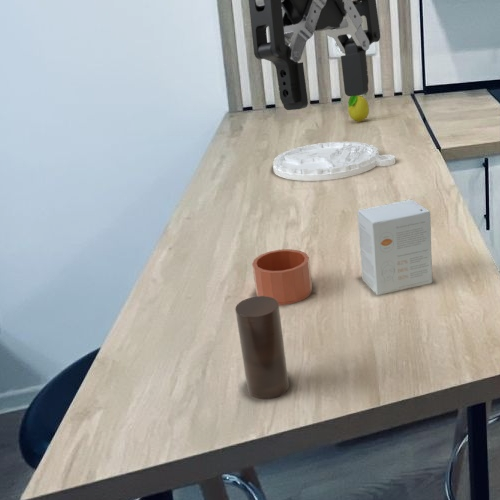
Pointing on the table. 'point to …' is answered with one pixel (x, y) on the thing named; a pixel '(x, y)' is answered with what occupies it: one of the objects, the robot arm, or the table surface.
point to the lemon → (358, 108)
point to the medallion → (329, 161)
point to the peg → (262, 347)
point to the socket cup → (283, 275)
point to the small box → (395, 246)
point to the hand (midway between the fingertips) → (328, 101)
